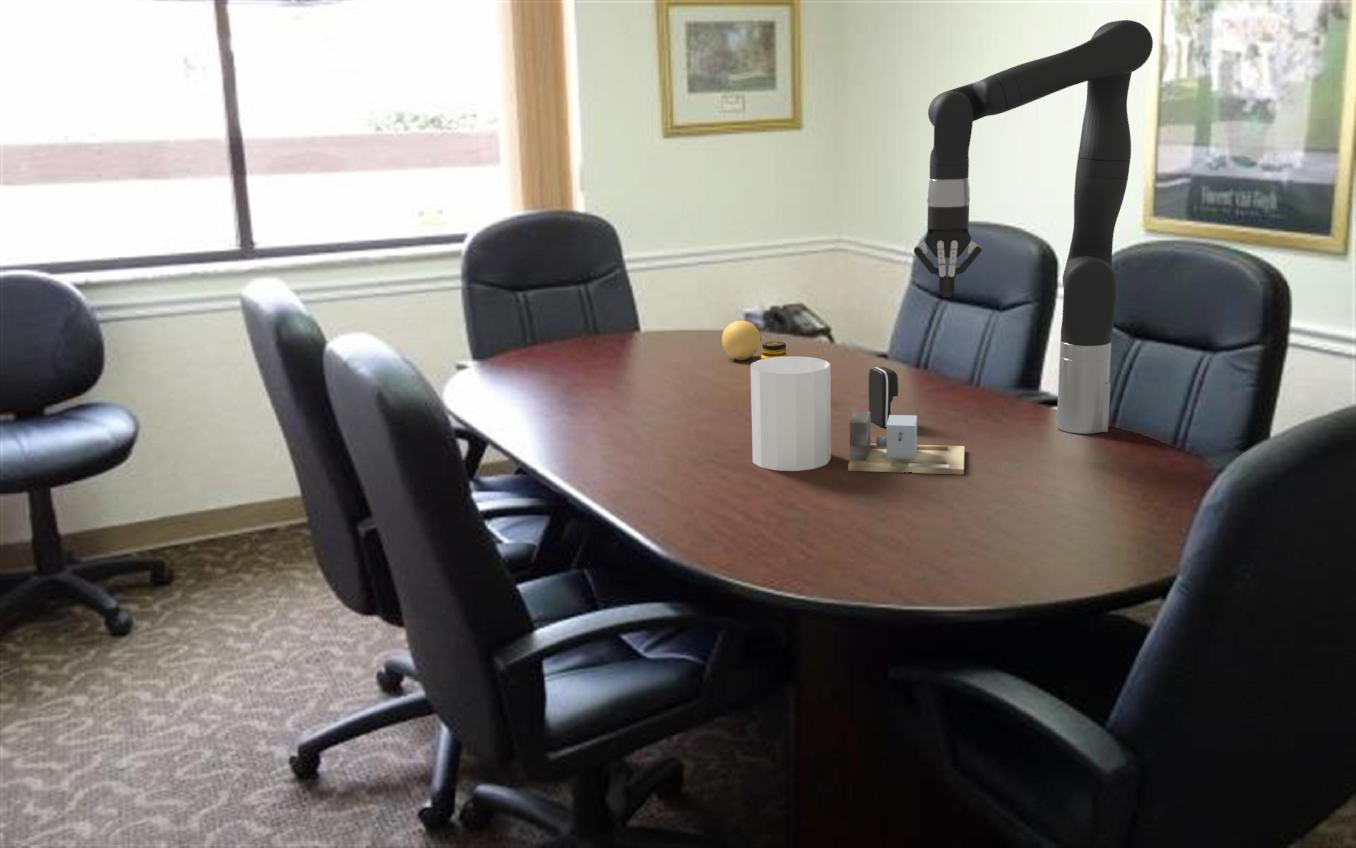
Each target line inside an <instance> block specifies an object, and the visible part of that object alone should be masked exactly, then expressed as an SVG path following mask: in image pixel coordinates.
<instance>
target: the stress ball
mask: <svg viewBox="0 0 1356 848" xmlns="http://www.w3.org/2000/svg"><path fill="white" fill-rule="evenodd" d="M761 342H762V336H761V332H759V330H758V328H757V326H756V324H755V323H753V322H751V321H750V322H749V321H747V320H741V319H740V320H735V321H733V322H731V323H729V324H728V325H727V326H726V327H725V328H724V330H723V332H722V336H721V344H722V347H723V350H724V351H725V352H726V353H727V354H728V355H729V357H732V358H733V359H735V360H737V361H747V360H748V359H749V358H750V357H752V356H754V355H755V354H756V353H757V351H758V350H759V348H760V345H761Z"/></svg>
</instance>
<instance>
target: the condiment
mask: <svg viewBox="0 0 1356 848" xmlns="http://www.w3.org/2000/svg"><path fill="white" fill-rule="evenodd" d="M761 348H762V351H761V352H762V355H760V356H761V357H760V360H761V359H767V358H773V357H789V356H788V354H787V344H786V343H785V342H783V341H776V340H774V341H766V342H763V343H762V346H761Z"/></svg>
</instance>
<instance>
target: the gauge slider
mask: <svg viewBox="0 0 1356 848" xmlns="http://www.w3.org/2000/svg"><path fill="white" fill-rule="evenodd" d="M875 441H876V443H875V444H876V446H881V447H887V453H886V458H895V459H915V457H916V451H917V445H918V444H917V442H918V415H915V414H913V415H911V414H910V415H909V414H907V415H905V414H904V415H903V414H902V415H901V414H891V415H889V418H888V422H887V427H886V436H876V440H875Z"/></svg>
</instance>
